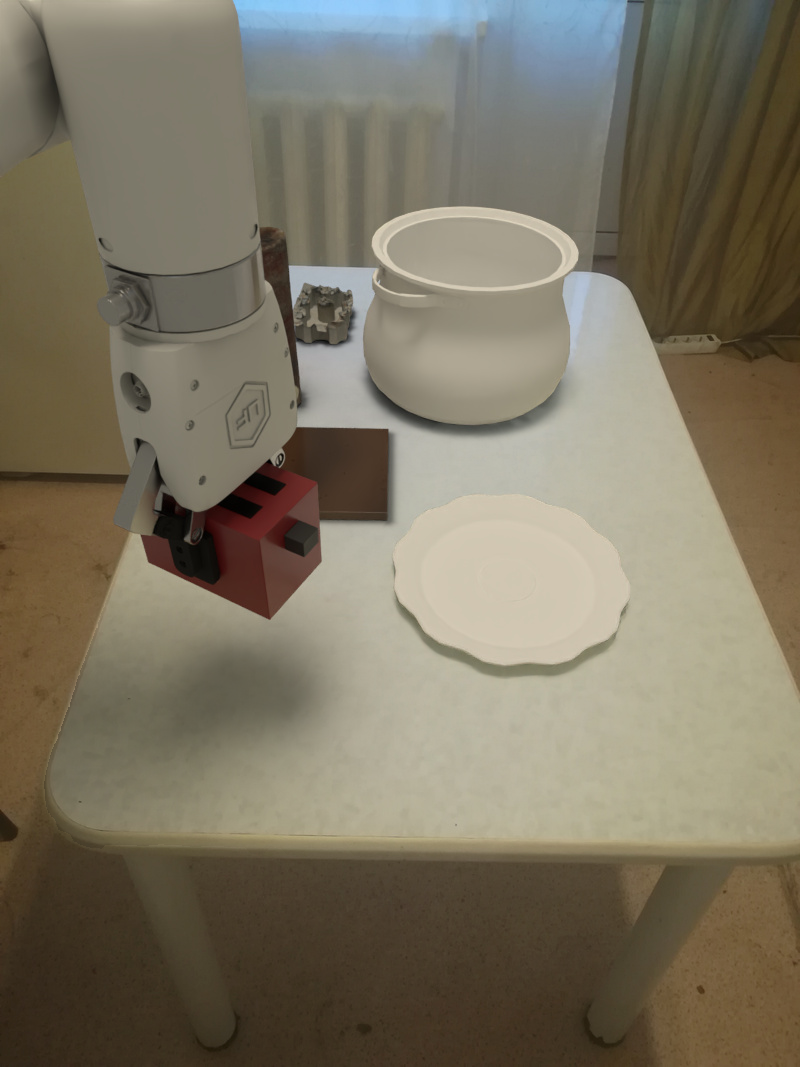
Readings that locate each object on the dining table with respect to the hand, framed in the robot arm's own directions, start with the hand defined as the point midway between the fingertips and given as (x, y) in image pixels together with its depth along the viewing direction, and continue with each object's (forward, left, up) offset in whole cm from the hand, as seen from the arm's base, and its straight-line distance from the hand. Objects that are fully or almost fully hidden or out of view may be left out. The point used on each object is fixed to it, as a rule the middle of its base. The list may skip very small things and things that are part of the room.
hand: (231, 539), depth 49 cm
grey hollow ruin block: (+1, +58, -16) cm, 60 cm away
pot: (+19, +45, -16) cm, 51 cm away
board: (+2, +26, -15) cm, 30 cm away
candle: (-4, +39, -16) cm, 42 cm away
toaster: (0, 0, -2) cm, 2 cm away
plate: (+21, +11, -16) cm, 29 cm away
